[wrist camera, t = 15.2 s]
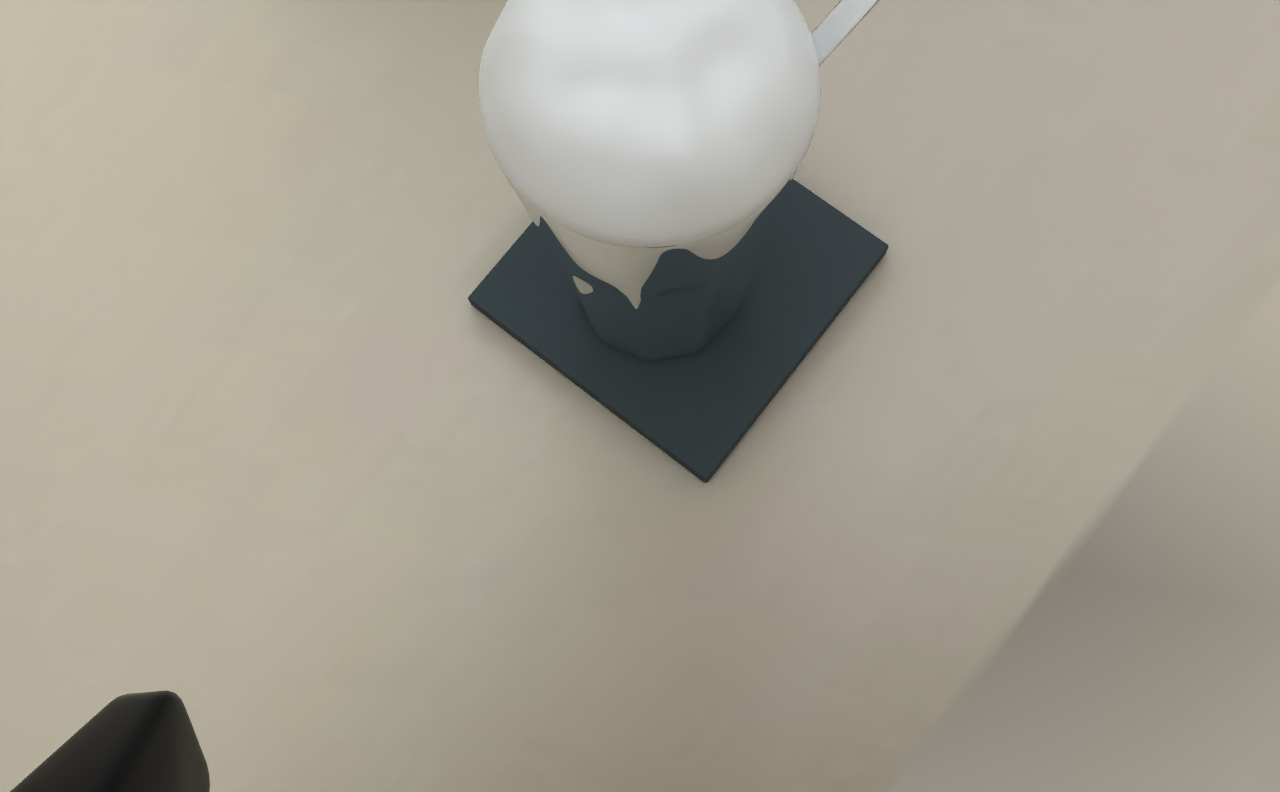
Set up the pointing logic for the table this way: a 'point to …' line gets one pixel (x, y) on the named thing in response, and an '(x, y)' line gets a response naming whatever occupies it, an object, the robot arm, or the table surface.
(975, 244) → the table surface
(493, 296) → the mat
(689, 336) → the milkshake
